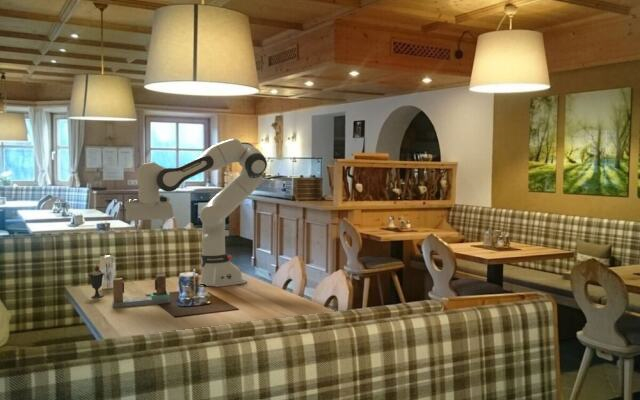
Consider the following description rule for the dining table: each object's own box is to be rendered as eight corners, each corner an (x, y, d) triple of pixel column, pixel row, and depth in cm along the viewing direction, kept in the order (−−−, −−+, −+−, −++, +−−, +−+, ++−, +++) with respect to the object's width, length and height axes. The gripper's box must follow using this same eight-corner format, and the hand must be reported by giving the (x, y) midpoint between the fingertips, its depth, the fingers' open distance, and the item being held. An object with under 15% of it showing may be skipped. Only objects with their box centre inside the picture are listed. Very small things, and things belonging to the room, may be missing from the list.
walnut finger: (165, 295, 244) (164, 274, 244) (166, 297, 241) (165, 275, 240) (155, 296, 243) (154, 275, 242) (155, 298, 239) (155, 276, 239)
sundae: (98, 299, 249) (97, 264, 248) (85, 298, 251) (84, 263, 251) (108, 295, 255) (107, 262, 255) (96, 295, 258) (94, 261, 257)
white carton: (112, 289, 270) (111, 257, 270) (98, 289, 270) (96, 257, 270) (118, 286, 277) (117, 255, 277) (103, 286, 277) (102, 255, 277)
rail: (168, 299, 246) (167, 273, 246) (170, 302, 240) (169, 276, 239) (112, 304, 238) (111, 277, 238) (113, 308, 232) (112, 280, 231)
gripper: (124, 200, 251) (126, 232, 251) (172, 197, 258) (174, 228, 259) (123, 199, 257) (125, 231, 257) (171, 197, 264) (172, 227, 265)
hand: (150, 229), depth 258 cm, fingers open, 8 cm apart
